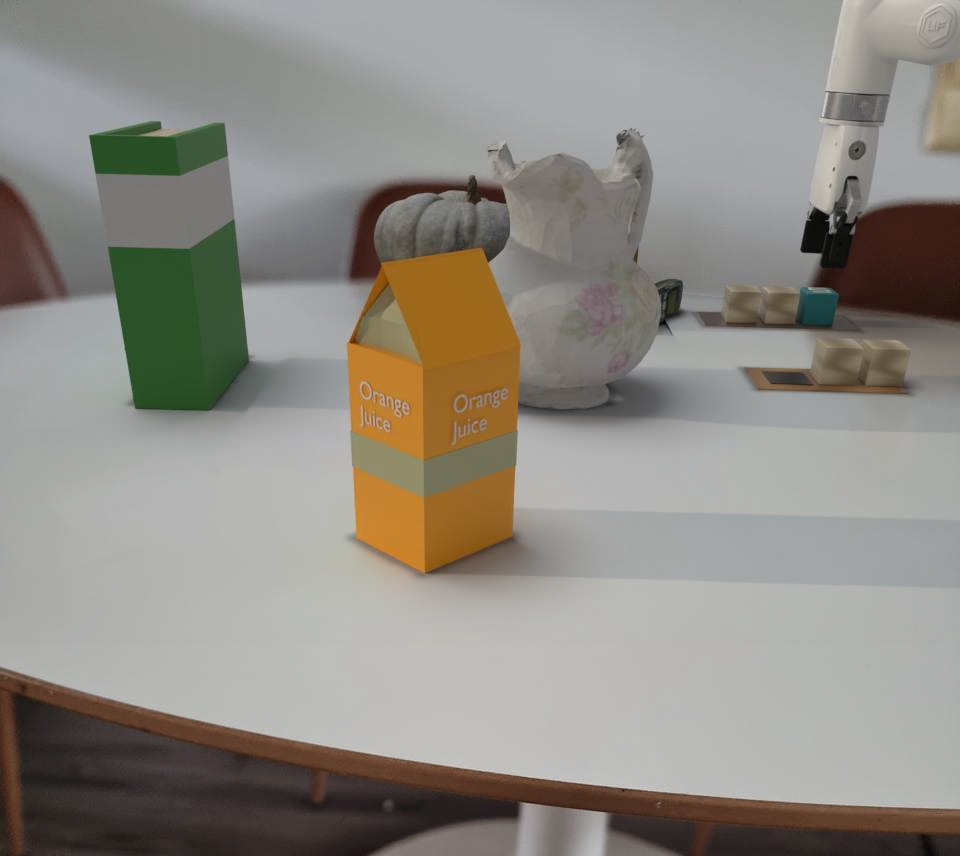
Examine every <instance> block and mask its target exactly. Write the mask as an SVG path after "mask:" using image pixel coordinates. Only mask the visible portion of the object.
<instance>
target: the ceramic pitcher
mask: <svg viewBox="0 0 960 856" xmlns="http://www.w3.org/2000/svg"><path fill="white" fill-rule="evenodd" d="M636 130H637V129H636V128H632V127H630V128H629V129H623V130H620V131H619V132H618V134H616V138H615V139H616V148H615V151H614V153H613V155H612V159H611V160H610V161H609V162H608V164H607V165H606V166H605V167H604V168H592V166H590V165H589V164H588V162H587V161H585V160H583V159H581V158H578V157H576V156H574V155H571V154H568V153H566V152H564V151H560V152H557V153H553V154H549V155H547V156H545V157H543V158H541V159H537V160H536V159H535V160H527V161H526V160H521V161H519V162H514V159H513V156H512V153H511V151H510V149H509V146H508V144H507V140H497V141H494V142H492V144H491V145H490V144H489V145H485V146H484V147H485V150H486V151H487V166H488V169H489V173H490V175H491V178H492V179H493V180H494V181H495V182H496V183H497V184H498V185H500V186H502V190H503V193H504V199H505V201H506V202H505V203H506V204H507V206H508V210H509V214H510V236H509V238H508V240H507V243H506V245H505V247H504V249H503V250H502V251H501V252H500V253H499V254H498V255H497V256H496V257H495V258H494V259H493V260H491V261H490V262H489V263H488V264H489V266H490V269H491V271H492V274H493V276H494V279H495V281H496V284H497V286H498V289H499V291H500V294H501V296H502V299H503V301H504V304H505V306H506V309H507V311H508V314H509V316H510V319H511V321H512V324H513V326H514V329H515V331H516V334H517V336H518V339H519V341H520V343H521V348H520V371H519V395H518V404H521V405H525V406H529V407H533V408H541V409H549V410H584V409H591V408H593V407H598V406H601V405H604V404H605V403H606V402H608V401H609V397H610V390H609V388H608V386H607V384H610V383H613V382H616V381H618V380H621V379H622V378H624V377H626V376H627V375H628V374H630V373H631V372H632V371H633V370H634V369H635V368H637V367H638V366H639V364H640V363H641V362H642V361H643V359H644V358H645V357H646V355H647V354H648V352H649V351H650V350H651V348H652V345H653V344H654V341H655V339H656V337H657V334H658V331H659V326H660V324H659V321H660V316H661V301H660V297H659V293H658V290H657V288H656V286H655V282H654V280H653V278H652V277H651V276H650V275H649V274H648V272H646V270H644V269H643V268H641V266H639V264H638V262H637V263H636V262H635V261H634V260H633V259H634V255H635V253H636V251H637V248H638V246H640V245H641V244H640V243H641V241H642V239H643V232H644V229H645V228H644V227H645V224H646V219H647V216H648V211H649V207H650V202H651V198H652V189H653V180H654V171H653V166H652V160H651V157H650V155H649V152H648V149H647V146H646V145H645V142H643V140H642V139H643V138H644V137H645V136H646V135H644V134H643V135H641V134H640V131H636ZM638 249H639V248H638Z"/></svg>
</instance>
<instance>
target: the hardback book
mask: <svg viewBox="0 0 960 856" xmlns="http://www.w3.org/2000/svg"><path fill="white" fill-rule="evenodd" d="M88 137H89V144H90V150H91V156H92V162H93V168H94V174H95V180H96V186H97V191H98V197H99V203H100V209H101V215H102V221H103V227H104V232H105V233H104V234H105V238H106V239H105V240H106V245H107V251H108V256H109V263H110V268H111V274H112V280H113V286H114V292H115V296H116V299H115V300H116V304H117V309H118V310H117V311H118V316H119V322H120V327H121V328H120V329H121V334H122V339H123V345H124V351H125V358H126V364H127V370H128V376H129V381H130V387H131V394H132V399H133V404H134V409H149V410H188V411H189V410H191V411H211V410H212V408H213V407H214V405H215V404H216V403H217V402H218V400H219V399H220V398H221V397H222V396H223V394H224V393H225V392H226V390H227V389H228V388H229V386H230V385H231V384H232V383H233V382H234V380H236V378H237V376H238V375H239V374H240V373H241V372H242V370H243V369H244V368H245V367H246V365H247V364H248V363H249V361H250V356H249V355H250V354H249V347H248V336H247V328H246V315H245V309H244V308H245V307H244V299H243V298H244V297H243V288H242V279H241V268H240V267H241V266H240V258H239V247H238V240H237V230H236V220H235V211H234V210H235V209H234V200H233V199H234V198H233V190H232V181H231V170H230V161H229V160H230V159H229V151H228V142H227V132H226V123H225V122H213V123H209V124H206V125H202V126H200V127H194V128H192V129H177V128H176V129H174V128H173V129H172V128H162V121H159V120H158V121H157V120H149V121H146V122H142V123H137V124H132V125H128V126H124V127H119V128H115V129H110V130H105V131H102V132H101V131H100V132H97V133H93V134H89V135H88Z"/></svg>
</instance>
